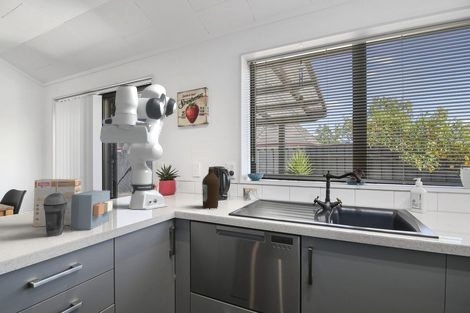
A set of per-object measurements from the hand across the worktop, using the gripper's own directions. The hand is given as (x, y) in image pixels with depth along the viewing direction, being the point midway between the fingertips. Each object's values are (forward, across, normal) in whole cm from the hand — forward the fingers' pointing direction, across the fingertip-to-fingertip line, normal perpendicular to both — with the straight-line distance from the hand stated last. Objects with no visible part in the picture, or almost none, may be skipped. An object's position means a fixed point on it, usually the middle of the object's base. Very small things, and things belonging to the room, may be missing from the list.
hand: (125, 153), depth 98 cm
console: (+31, +14, -2) cm, 34 cm away
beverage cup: (+31, +20, +12) cm, 39 cm away
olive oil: (+31, -34, -42) cm, 63 cm away
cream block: (+26, +11, -5) cm, 28 cm away
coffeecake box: (+31, +30, -3) cm, 43 cm away
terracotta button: (+26, +11, +2) cm, 28 cm away
